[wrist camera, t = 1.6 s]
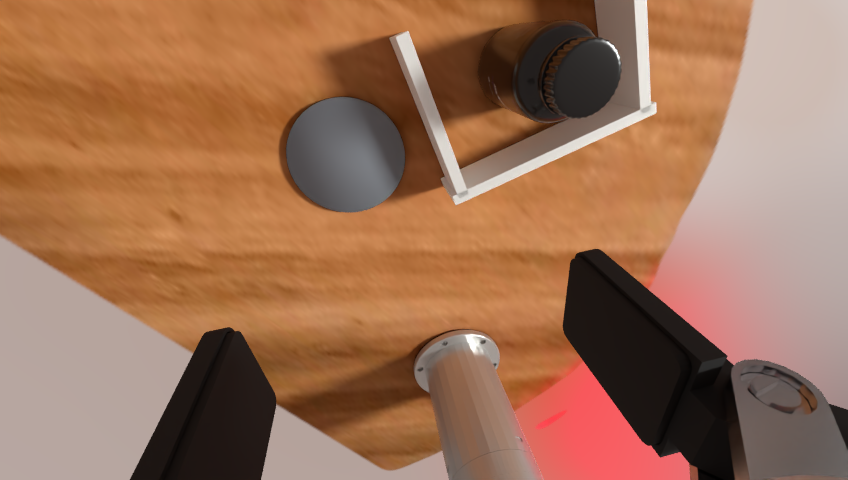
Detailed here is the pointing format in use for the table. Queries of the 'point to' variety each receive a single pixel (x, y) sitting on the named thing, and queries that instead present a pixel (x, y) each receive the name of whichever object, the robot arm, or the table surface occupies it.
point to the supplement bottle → (549, 70)
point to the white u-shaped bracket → (631, 102)
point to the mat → (345, 154)
